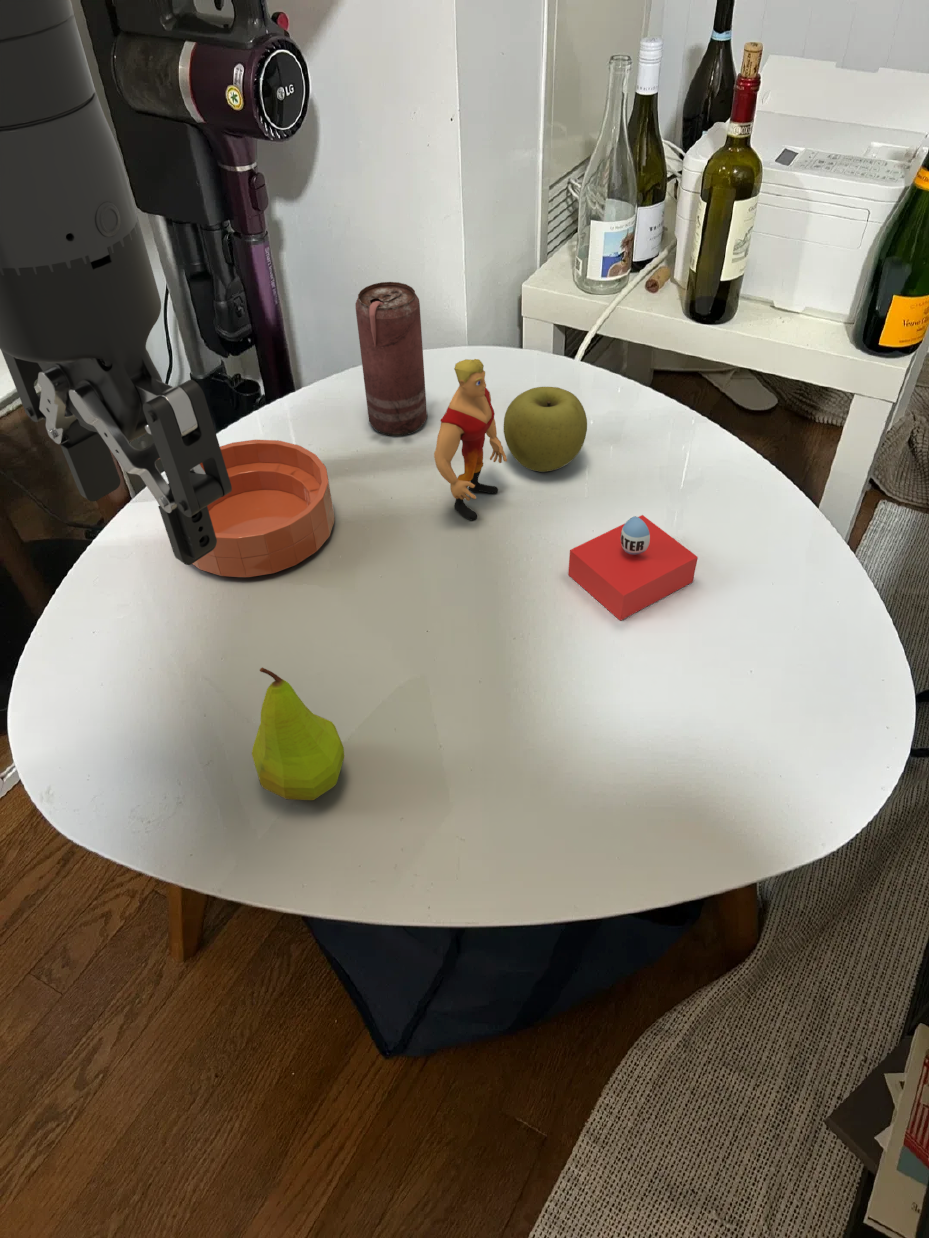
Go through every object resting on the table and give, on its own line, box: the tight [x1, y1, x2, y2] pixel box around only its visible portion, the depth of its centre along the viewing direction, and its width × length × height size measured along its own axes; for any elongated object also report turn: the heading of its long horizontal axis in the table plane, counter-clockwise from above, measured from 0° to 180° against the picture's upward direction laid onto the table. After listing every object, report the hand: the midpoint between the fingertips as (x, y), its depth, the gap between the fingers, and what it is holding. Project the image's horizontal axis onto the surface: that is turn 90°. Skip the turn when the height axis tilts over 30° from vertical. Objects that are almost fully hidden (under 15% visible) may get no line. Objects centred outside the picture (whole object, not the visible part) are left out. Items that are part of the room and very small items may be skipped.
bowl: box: [192, 439, 336, 578], centre depth 83 cm, size 14×14×5 cm
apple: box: [503, 386, 588, 473], centre depth 88 cm, size 8×8×7 cm
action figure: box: [433, 358, 508, 521], centre depth 81 cm, size 10×4×15 cm, turn 152°
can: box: [354, 281, 428, 437], centre depth 91 cm, size 6×6×14 cm
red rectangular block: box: [567, 514, 699, 621], centre depth 76 cm, size 8×7×6 cm
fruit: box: [251, 667, 345, 801], centre depth 60 cm, size 6×6×12 cm
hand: (148, 522), depth 50 cm, fingers open, 8 cm apart
